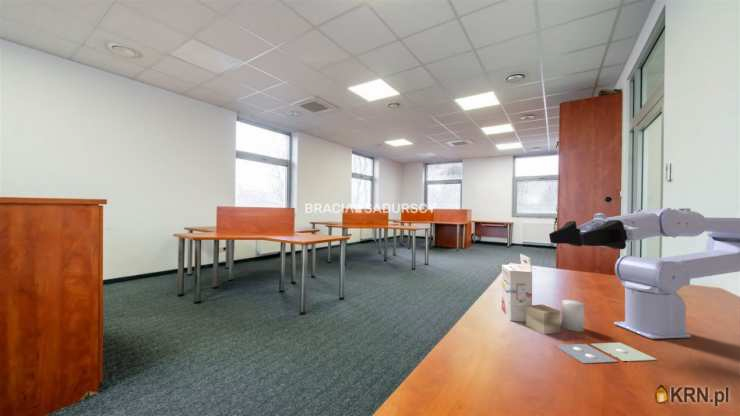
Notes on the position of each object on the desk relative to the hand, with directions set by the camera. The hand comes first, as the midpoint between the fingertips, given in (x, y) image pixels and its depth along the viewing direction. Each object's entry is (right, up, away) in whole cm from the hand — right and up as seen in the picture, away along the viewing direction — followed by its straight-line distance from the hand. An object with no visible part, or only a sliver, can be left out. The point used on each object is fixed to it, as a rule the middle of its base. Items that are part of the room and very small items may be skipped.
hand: (565, 239), depth 59 cm
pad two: (-2, -19, -8) cm, 21 cm away
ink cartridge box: (-5, -20, +11) cm, 23 cm away
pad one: (+6, -20, -7) cm, 22 cm away
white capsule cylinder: (+4, -20, +4) cm, 21 cm away
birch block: (-3, -20, +3) cm, 20 cm away
